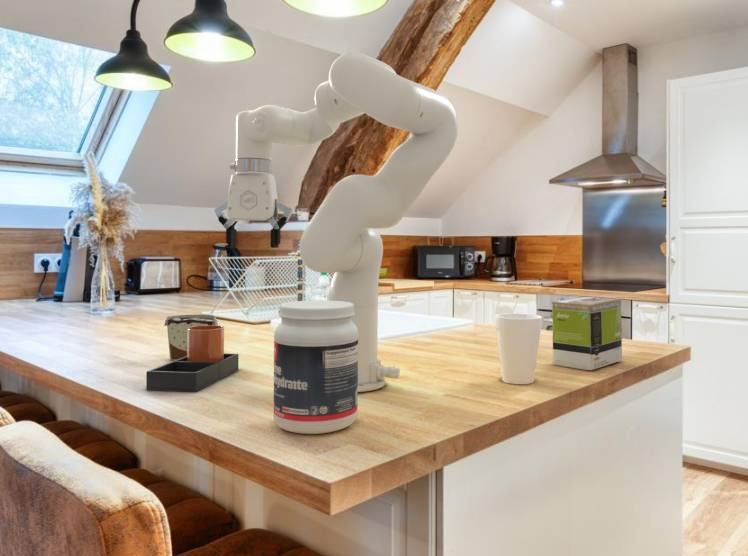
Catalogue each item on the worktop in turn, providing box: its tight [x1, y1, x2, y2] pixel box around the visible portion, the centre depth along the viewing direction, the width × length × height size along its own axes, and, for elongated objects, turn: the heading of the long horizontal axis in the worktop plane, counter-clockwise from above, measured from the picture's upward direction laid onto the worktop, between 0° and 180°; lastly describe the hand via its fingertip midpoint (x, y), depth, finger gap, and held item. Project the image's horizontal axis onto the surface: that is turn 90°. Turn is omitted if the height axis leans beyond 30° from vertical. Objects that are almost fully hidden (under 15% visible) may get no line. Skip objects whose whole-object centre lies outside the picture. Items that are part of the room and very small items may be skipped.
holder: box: [145, 352, 239, 393], centre depth 123 cm, size 19×10×4 cm, turn 173°
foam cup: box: [494, 312, 543, 385], centre depth 124 cm, size 10×9×13 cm
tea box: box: [551, 296, 623, 371], centre depth 142 cm, size 15×10×15 cm, turn 136°
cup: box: [187, 324, 225, 362], centre depth 127 cm, size 7×7×9 cm
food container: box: [164, 314, 219, 362], centre depth 144 cm, size 12×6×10 cm, turn 84°
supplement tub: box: [272, 299, 359, 435], centre depth 94 cm, size 13×13×18 cm
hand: (253, 247), depth 134 cm, fingers open, 9 cm apart
